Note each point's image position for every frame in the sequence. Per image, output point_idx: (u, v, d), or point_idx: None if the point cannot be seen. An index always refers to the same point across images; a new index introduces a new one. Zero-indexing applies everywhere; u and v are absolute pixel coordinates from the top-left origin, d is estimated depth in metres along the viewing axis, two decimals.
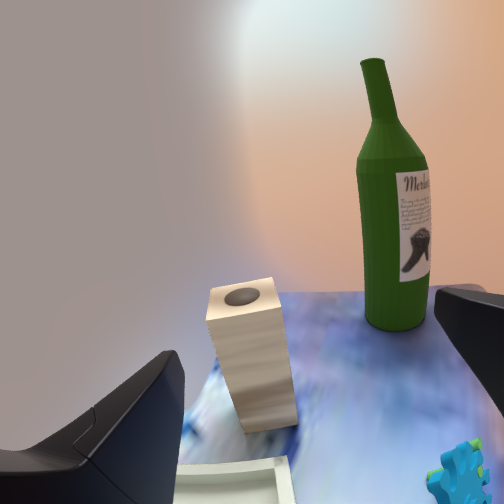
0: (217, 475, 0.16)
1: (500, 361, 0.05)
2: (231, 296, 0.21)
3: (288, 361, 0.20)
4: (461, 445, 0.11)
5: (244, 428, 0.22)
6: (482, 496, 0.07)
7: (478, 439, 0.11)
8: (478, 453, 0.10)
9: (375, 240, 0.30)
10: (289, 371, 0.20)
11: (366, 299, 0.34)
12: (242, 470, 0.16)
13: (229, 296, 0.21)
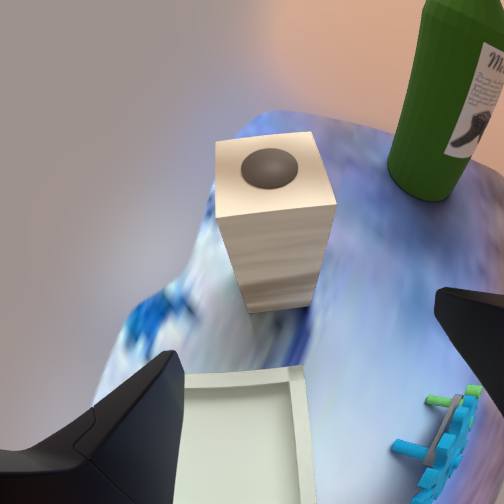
0: (226, 386, 0.17)
1: (500, 361, 0.05)
2: (252, 165, 0.13)
3: (322, 258, 0.15)
4: (469, 398, 0.13)
5: (249, 310, 0.22)
6: (463, 445, 0.13)
7: (481, 388, 0.14)
8: (476, 403, 0.13)
9: (430, 97, 0.18)
10: (319, 266, 0.16)
11: (395, 151, 0.26)
12: (253, 382, 0.17)
13: (249, 166, 0.13)
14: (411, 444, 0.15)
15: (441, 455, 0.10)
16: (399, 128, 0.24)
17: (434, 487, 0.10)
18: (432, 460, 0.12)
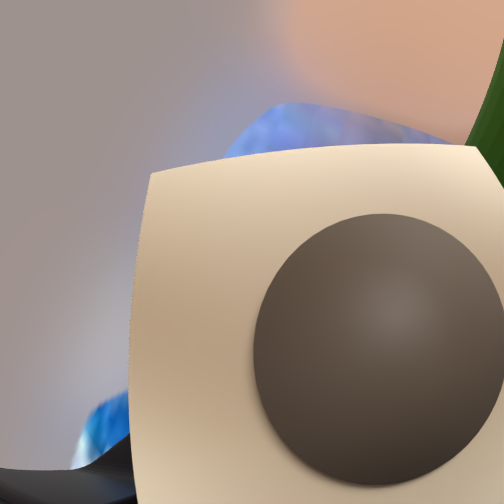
0: None
1: None
2: (316, 336, 0.02)
3: None
4: None
5: None
6: None
7: None
8: None
9: None
10: None
11: None
12: None
13: (301, 342, 0.02)
14: None
15: None
16: (479, 138, 0.14)
17: None
18: None
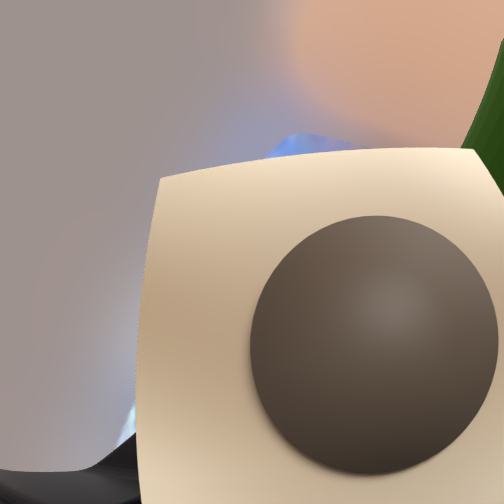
0: None
1: None
2: (308, 329, 0.02)
3: None
4: None
5: None
6: None
7: None
8: None
9: (502, 156, 0.13)
10: None
11: None
12: None
13: (294, 334, 0.02)
14: None
15: None
16: None
17: None
18: None
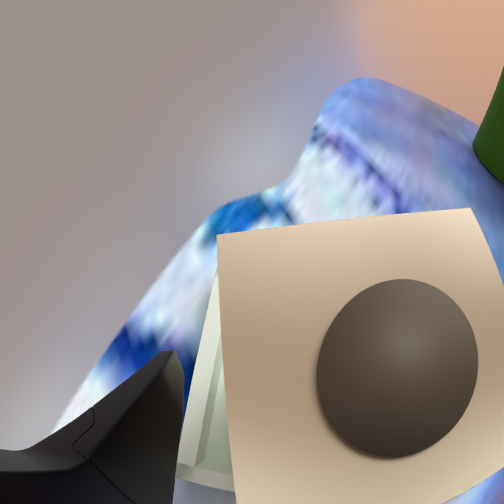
0: None
1: None
2: (356, 366, 0.03)
3: None
4: None
5: None
6: None
7: None
8: None
9: None
10: None
11: (483, 132, 0.22)
12: None
13: (347, 370, 0.03)
14: None
15: None
16: (489, 111, 0.20)
17: None
18: None
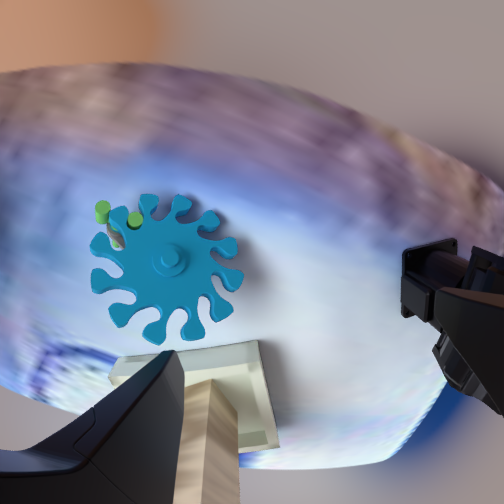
0: None
1: (500, 361, 0.05)
2: None
3: (205, 454, 0.15)
4: (91, 250, 0.15)
5: (236, 417, 0.23)
6: (167, 222, 0.18)
7: (97, 209, 0.16)
8: (112, 216, 0.16)
9: None
10: (206, 443, 0.16)
11: None
12: None
13: None
14: None
15: (134, 313, 0.15)
16: None
17: (183, 304, 0.16)
18: None
